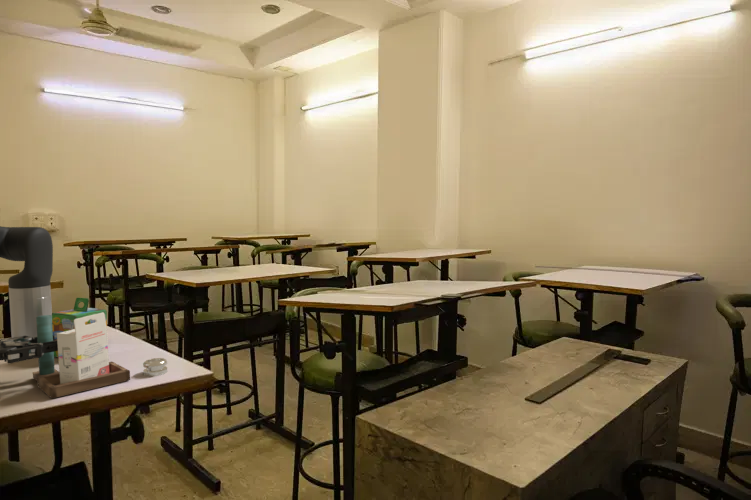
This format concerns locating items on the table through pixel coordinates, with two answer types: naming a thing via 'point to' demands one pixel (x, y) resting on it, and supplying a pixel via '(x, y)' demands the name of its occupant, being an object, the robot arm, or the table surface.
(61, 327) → the chalk box
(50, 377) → the wooden display tray
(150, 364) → the metal grooved wheel
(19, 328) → the robot arm
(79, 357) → the ink cartridge box
